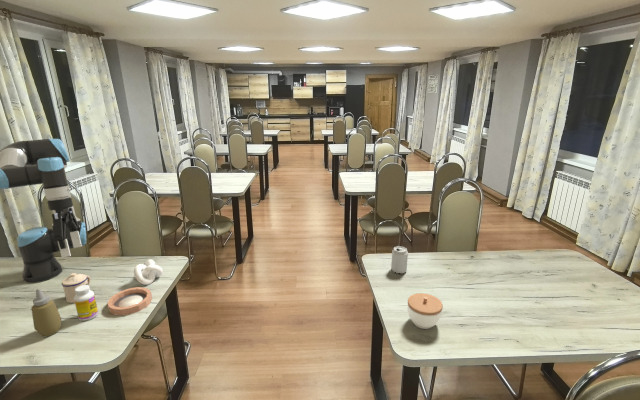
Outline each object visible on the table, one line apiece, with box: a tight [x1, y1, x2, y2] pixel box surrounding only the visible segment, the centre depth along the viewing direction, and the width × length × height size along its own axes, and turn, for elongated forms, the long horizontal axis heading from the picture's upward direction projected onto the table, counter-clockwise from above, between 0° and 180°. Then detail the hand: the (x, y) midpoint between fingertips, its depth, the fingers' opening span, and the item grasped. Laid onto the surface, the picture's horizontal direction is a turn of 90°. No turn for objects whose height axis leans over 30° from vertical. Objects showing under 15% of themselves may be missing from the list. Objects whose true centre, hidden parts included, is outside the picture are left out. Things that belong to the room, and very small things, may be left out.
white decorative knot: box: [133, 258, 164, 286], centre depth 162 cm, size 11×12×9 cm
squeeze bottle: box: [31, 288, 62, 338], centre depth 127 cm, size 8×8×18 cm
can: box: [390, 245, 409, 274], centre depth 169 cm, size 8×8×12 cm
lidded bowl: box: [407, 293, 443, 330], centre depth 131 cm, size 13×13×11 cm
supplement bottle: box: [74, 284, 99, 322], centre depth 136 cm, size 7×7×13 cm
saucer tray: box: [107, 286, 153, 316], centre depth 146 cm, size 16×16×3 cm
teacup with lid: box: [61, 272, 91, 304], centre depth 150 cm, size 12×9×12 cm
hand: (72, 251), depth 135 cm, fingers open, 13 cm apart
